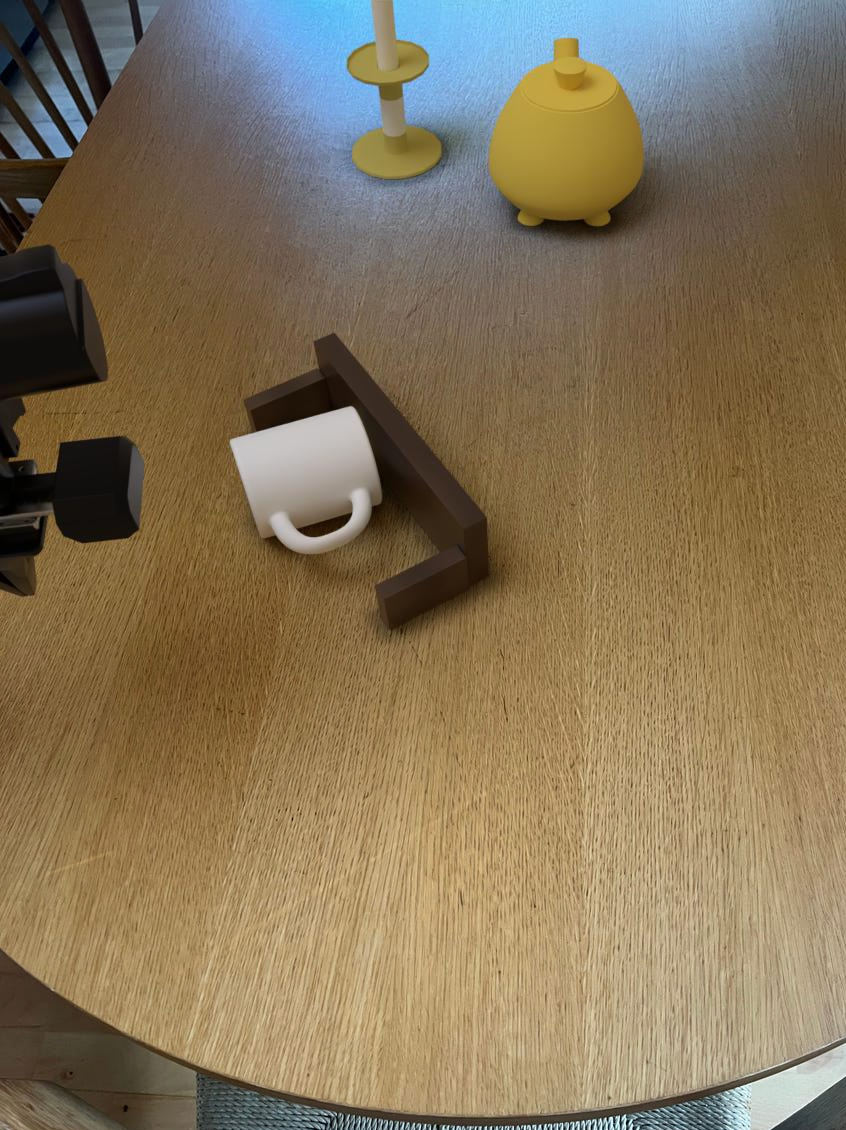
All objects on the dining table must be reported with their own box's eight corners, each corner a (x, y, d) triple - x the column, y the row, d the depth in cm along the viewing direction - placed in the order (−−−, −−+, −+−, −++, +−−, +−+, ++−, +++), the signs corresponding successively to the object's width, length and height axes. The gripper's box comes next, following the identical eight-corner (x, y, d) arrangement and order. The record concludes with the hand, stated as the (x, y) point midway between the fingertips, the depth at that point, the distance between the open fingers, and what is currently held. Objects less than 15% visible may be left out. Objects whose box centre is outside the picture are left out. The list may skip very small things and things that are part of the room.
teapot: (494, 132, 113) (491, -1, 101) (635, 132, 112) (648, -2, 100) (485, 244, 102) (482, 108, 90) (642, 245, 101) (658, 108, 89)
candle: (433, 182, 108) (412, -115, 85) (342, 176, 109) (297, -119, 86) (449, 130, 113) (434, -162, 91) (362, 124, 114) (325, -166, 92)
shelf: (389, 630, 76) (379, 574, 70) (252, 433, 88) (234, 371, 82) (490, 578, 79) (489, 519, 73) (344, 393, 90) (333, 330, 85)
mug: (244, 488, 85) (221, 418, 78) (359, 456, 86) (346, 384, 80) (280, 597, 78) (258, 531, 72) (402, 559, 80) (392, 491, 73)
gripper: (104, 286, 56) (183, 479, 69) (-241, 322, 55) (-96, 510, 68) (85, 430, 50) (175, 612, 63) (-303, 472, 49) (-131, 648, 62)
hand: (29, 590), depth 64 cm, fingers closed
